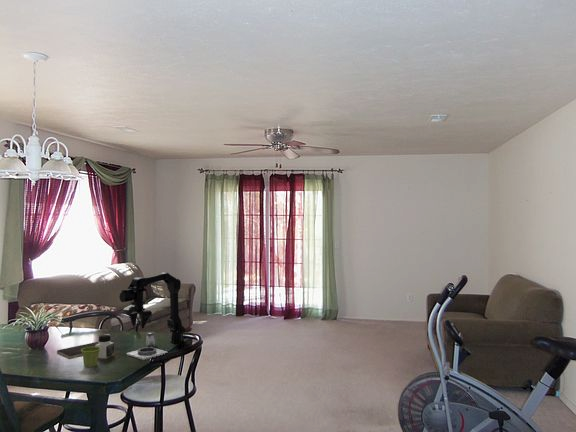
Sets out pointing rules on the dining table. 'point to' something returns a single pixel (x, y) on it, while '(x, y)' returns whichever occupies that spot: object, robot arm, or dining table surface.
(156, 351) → the plate
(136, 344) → the dining table surface
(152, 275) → the robot arm
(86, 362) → the plant pot
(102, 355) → the medicine bottle
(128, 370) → the dining table surface
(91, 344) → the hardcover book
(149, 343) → the duct coupling
